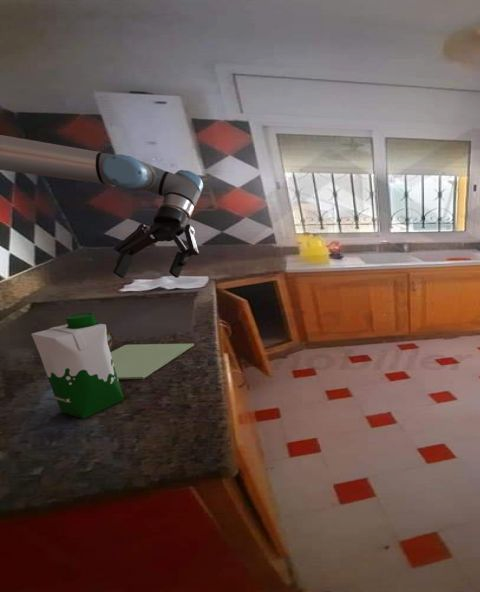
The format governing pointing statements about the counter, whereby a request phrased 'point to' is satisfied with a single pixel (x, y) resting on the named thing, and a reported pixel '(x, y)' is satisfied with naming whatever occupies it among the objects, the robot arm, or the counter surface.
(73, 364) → the soya milk
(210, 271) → the counter surface
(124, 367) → the mat
